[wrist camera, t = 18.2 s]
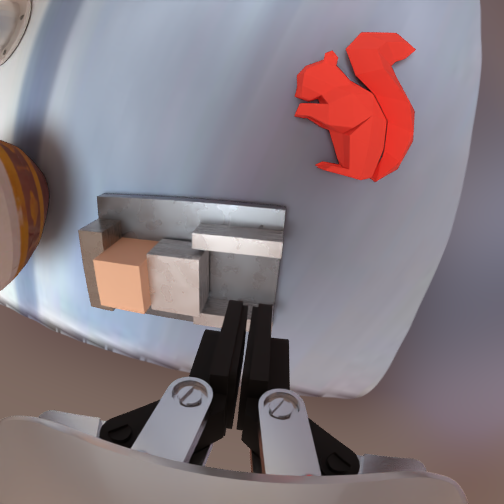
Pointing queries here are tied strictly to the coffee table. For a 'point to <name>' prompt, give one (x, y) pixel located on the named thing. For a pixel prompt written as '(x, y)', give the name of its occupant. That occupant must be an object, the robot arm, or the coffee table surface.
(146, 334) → the coffee table surface
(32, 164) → the jug
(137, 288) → the block
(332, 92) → the animal figurine
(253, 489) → the robot arm
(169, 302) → the light grey sliding block
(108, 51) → the coffee table surface
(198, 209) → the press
